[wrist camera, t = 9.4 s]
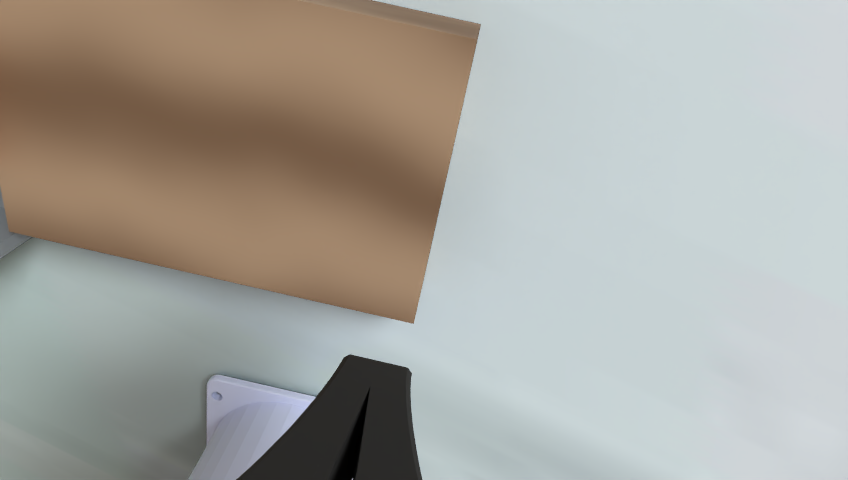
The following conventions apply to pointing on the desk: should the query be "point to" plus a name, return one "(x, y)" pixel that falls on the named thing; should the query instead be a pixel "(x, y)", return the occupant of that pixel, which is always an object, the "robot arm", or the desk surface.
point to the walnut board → (237, 137)
